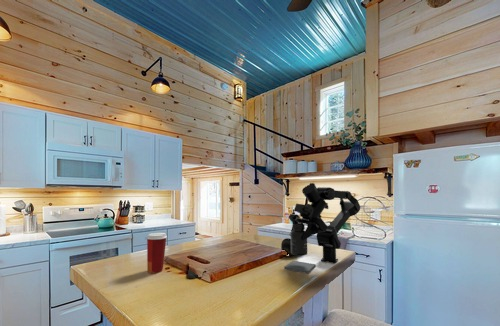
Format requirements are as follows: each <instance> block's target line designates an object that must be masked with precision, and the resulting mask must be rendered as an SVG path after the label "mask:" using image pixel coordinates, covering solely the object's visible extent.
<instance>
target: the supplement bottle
mask: <svg viewBox="0 0 500 326" xmlns="http://www.w3.org/2000/svg"><path fill="white" fill-rule="evenodd" d="M292 225H293V231H291V230H290V233H291V236H290V239H291V253H292V254H293V256H296V257H297V256H300V257H302V256H303V257H304V256H307V255H308V238H307V239H305V240H302V239H301V238H302V235H303V234H304V232H305V230H306V229H305V226H306V224H293V223H292Z"/></svg>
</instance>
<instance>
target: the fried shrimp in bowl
mask: <svg viewBox="0 0 500 326" xmlns="http://www.w3.org/2000/svg"><path fill="white" fill-rule="evenodd" d="M280 249H281V251H282V250H285V251H286V252H287V255H288V254H289V256H286V255H283V256H284V257H293V256H294V255H293V254H292V253H291V238H288V237H287V238H284V239H283V240H282V241H281V246H280Z"/></svg>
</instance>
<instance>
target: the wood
mask: <svg viewBox="0 0 500 326" xmlns="http://www.w3.org/2000/svg"><path fill="white" fill-rule="evenodd" d="M194 259H195V258H194ZM194 259H193V260H194ZM196 279H199V280H201V278H200V277H198V275H197V274H195V273H194V272H193V271H191V270H188V269H187V280H196Z"/></svg>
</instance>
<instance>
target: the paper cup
mask: <svg viewBox="0 0 500 326" xmlns="http://www.w3.org/2000/svg"><path fill="white" fill-rule="evenodd" d="M145 238H146V240H147V241H146V244H147V245H146V249H147V250H146V253H147V254H146V256H147V257H146V258H147V261H146V262H147V263H146V264H147V265H146V266H147V268H146V269H147V273H148V274H158V273H162V272H163V270H164V263H165V256H166V255H165V253H166V243H167V238H168V236H167V233H165V232H152V233H148V234H147V236H146V237H145Z"/></svg>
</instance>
